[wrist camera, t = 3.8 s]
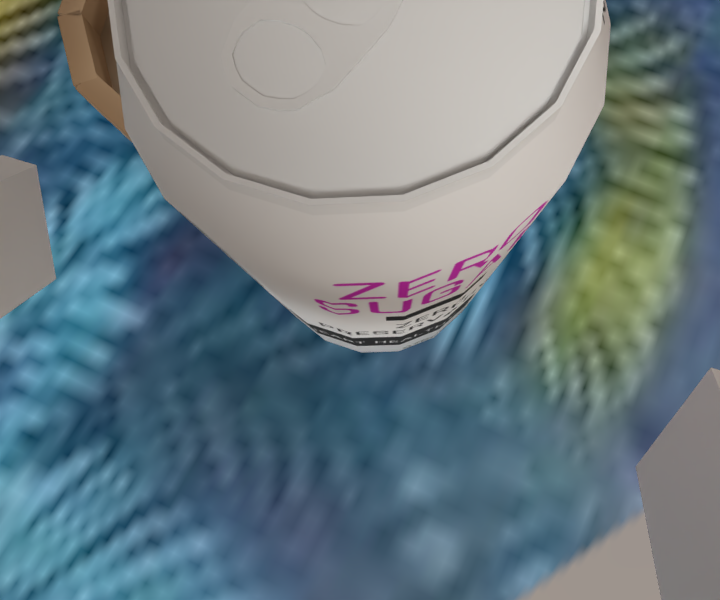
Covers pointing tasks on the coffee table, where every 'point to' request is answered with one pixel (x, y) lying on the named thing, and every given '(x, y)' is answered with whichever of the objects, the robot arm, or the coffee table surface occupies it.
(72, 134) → the coffee table surface
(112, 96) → the ring coaster
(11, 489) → the coffee table surface
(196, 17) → the supplement can
